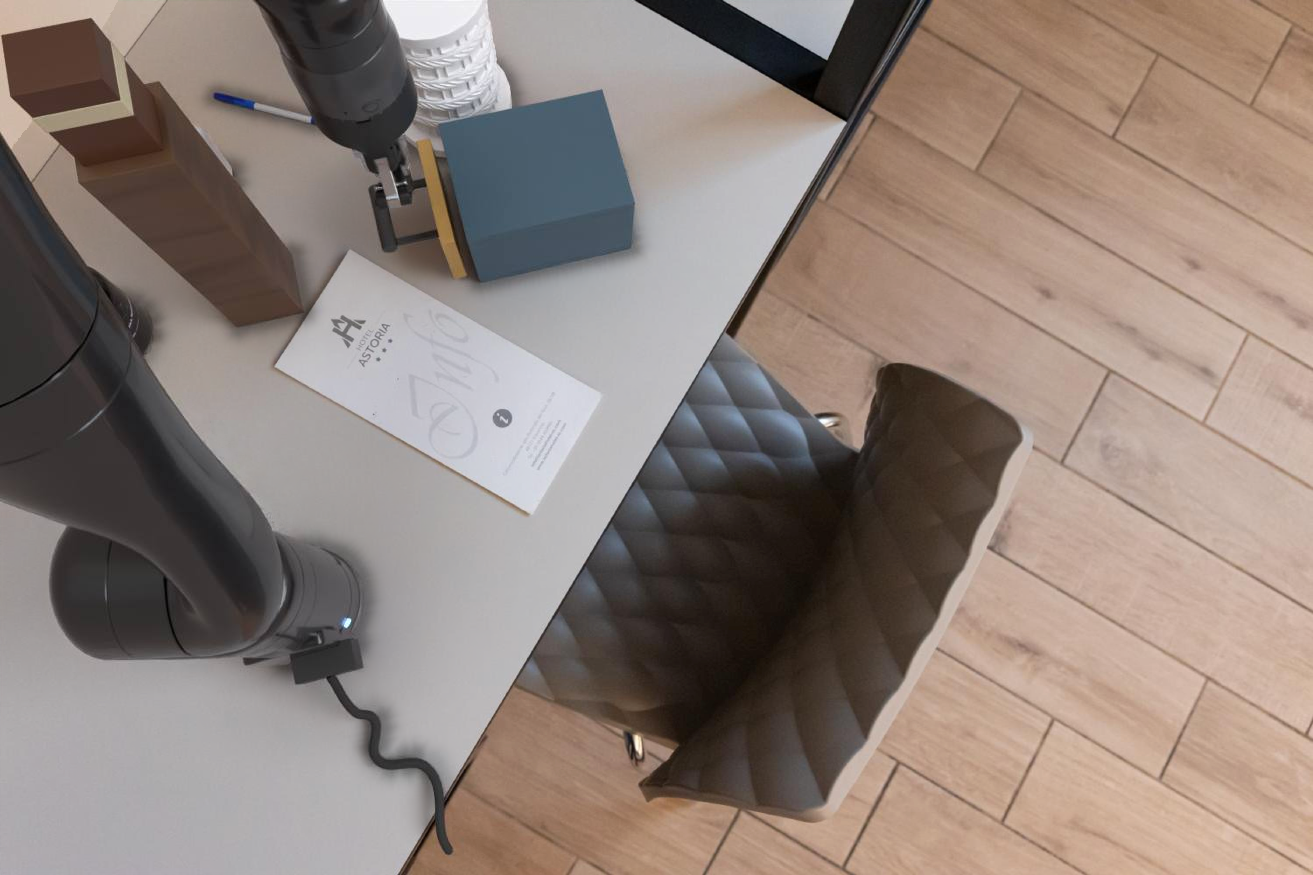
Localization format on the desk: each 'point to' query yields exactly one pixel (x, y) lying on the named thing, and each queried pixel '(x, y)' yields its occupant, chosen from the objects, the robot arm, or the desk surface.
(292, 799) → the desk surface
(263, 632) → the robot arm
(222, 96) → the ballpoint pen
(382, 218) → the drawer
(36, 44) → the chocolate carton
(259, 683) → the desk surface
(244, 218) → the riser
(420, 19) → the decorative container
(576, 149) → the cabinet
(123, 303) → the supplement bottle
